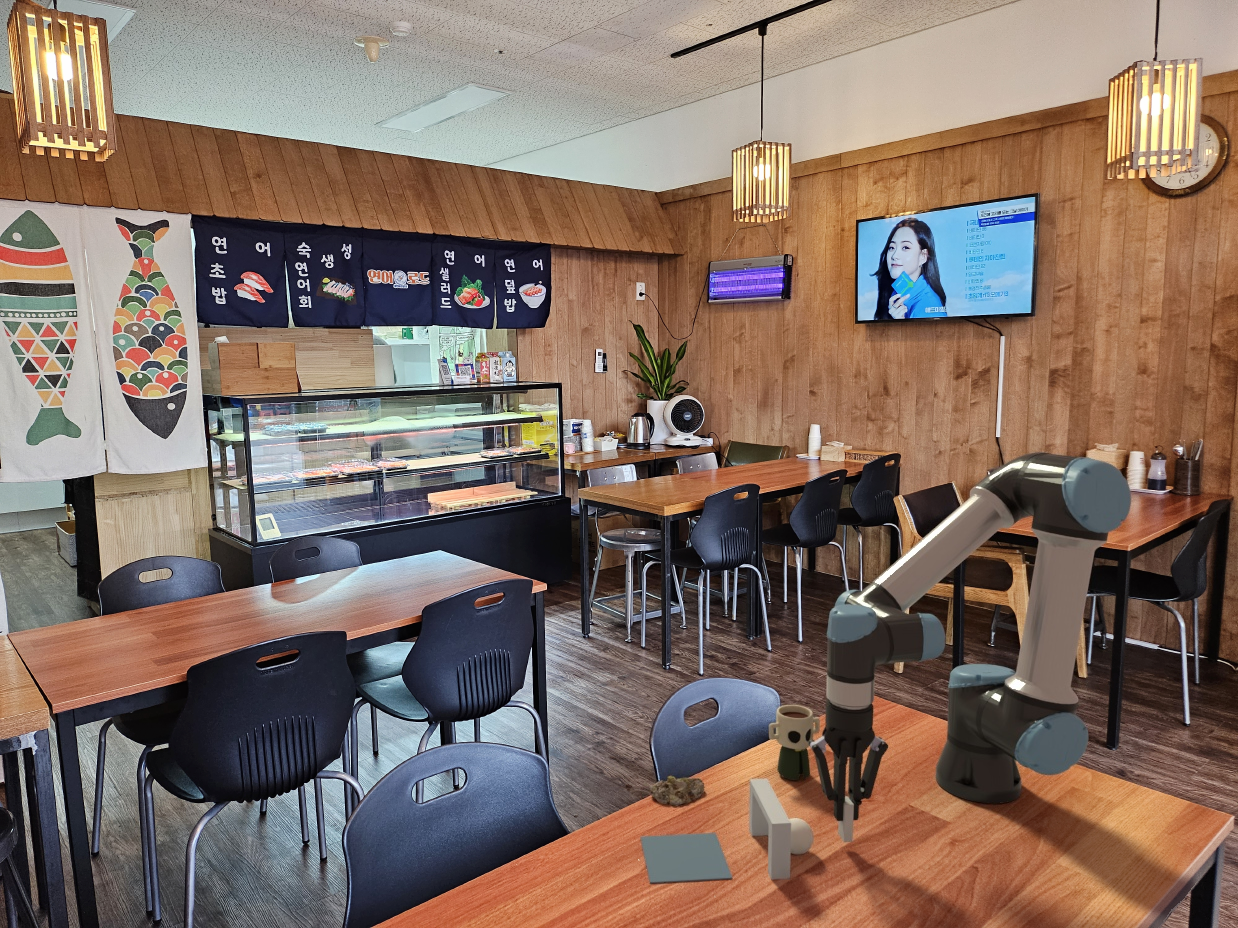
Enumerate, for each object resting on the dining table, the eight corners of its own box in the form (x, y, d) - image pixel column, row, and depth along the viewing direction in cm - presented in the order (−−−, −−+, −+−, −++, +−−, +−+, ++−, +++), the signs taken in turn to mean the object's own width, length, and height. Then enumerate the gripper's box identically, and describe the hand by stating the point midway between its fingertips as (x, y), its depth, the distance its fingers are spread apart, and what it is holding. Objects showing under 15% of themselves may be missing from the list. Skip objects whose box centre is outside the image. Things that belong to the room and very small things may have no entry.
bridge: (765, 828, 148) (766, 778, 147) (789, 878, 133) (791, 822, 132) (748, 829, 147) (749, 778, 146) (771, 879, 133) (772, 823, 132)
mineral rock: (660, 800, 154) (646, 769, 161) (656, 819, 155) (643, 787, 162) (714, 793, 157) (698, 763, 164) (711, 811, 159) (695, 781, 166)
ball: (768, 829, 143) (791, 849, 144) (778, 847, 137) (802, 867, 138) (790, 805, 143) (813, 825, 144) (801, 822, 137) (825, 842, 138)
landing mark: (715, 833, 146) (715, 832, 146) (732, 878, 133) (732, 877, 133) (640, 837, 145) (640, 836, 145) (649, 883, 132) (649, 881, 132)
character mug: (776, 787, 162) (778, 722, 161) (760, 770, 169) (761, 707, 168) (827, 779, 165) (829, 715, 164) (809, 763, 172) (810, 701, 171)
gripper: (879, 690, 143) (874, 823, 146) (803, 693, 142) (800, 827, 144) (897, 708, 136) (892, 848, 138) (818, 711, 134) (814, 852, 137)
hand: (845, 837), depth 141 cm, fingers closed
